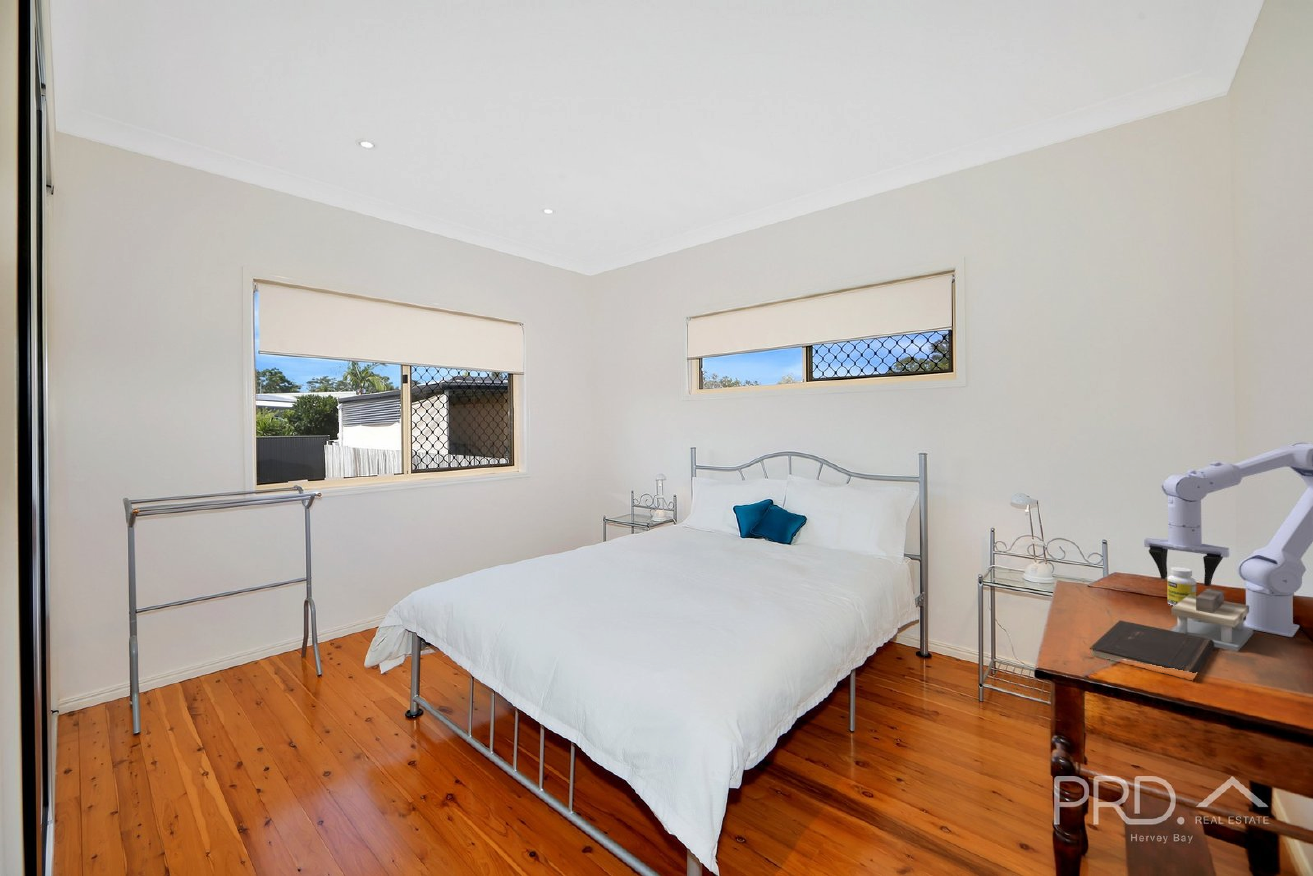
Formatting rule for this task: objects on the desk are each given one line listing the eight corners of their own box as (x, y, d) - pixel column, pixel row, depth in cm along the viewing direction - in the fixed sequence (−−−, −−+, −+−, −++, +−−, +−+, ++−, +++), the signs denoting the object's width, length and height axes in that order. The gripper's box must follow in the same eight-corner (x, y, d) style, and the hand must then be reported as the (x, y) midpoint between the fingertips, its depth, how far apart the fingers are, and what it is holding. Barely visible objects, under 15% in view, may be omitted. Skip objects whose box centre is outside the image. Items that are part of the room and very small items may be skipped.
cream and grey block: (1189, 601, 132) (1188, 582, 132) (1249, 612, 124) (1249, 592, 124) (1171, 614, 124) (1171, 595, 124) (1234, 627, 116) (1234, 606, 116)
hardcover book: (1089, 658, 117) (1089, 647, 117) (1119, 629, 131) (1119, 620, 131) (1193, 684, 104) (1193, 673, 104) (1214, 650, 118) (1214, 639, 118)
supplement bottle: (1163, 604, 144) (1162, 568, 143) (1173, 601, 146) (1173, 565, 146) (1190, 611, 139) (1189, 573, 138) (1200, 607, 141) (1200, 569, 141)
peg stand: (1187, 620, 133) (1187, 600, 133) (1253, 633, 124) (1253, 612, 124) (1168, 636, 125) (1167, 614, 125) (1237, 651, 116) (1237, 628, 115)
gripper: (1139, 523, 134) (1140, 578, 134) (1223, 532, 122) (1224, 592, 122) (1149, 519, 138) (1149, 572, 138) (1231, 527, 125) (1231, 585, 126)
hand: (1185, 581), depth 130 cm, fingers open, 7 cm apart
